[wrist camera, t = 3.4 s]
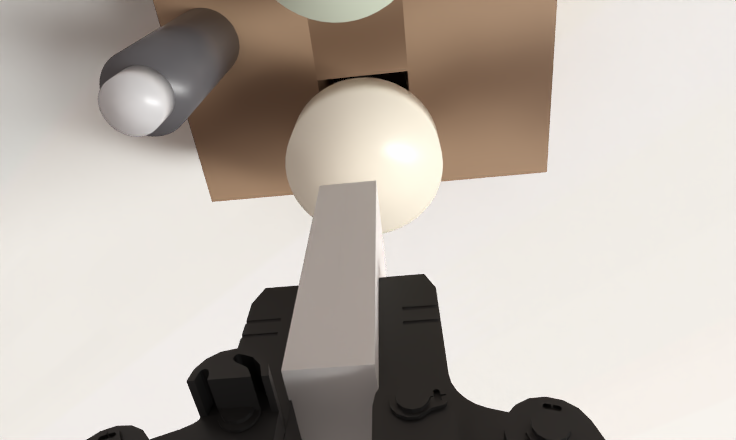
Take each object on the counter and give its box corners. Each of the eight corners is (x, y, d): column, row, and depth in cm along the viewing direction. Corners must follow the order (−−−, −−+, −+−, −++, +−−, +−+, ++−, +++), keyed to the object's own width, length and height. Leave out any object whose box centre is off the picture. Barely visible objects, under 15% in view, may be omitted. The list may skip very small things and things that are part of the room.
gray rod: (164, 11, 19) (66, 65, 13) (230, 4, 19) (161, 54, 13) (183, 78, 21) (101, 154, 15) (246, 71, 20) (188, 146, 14)
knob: (298, 49, 22) (271, 101, 16) (425, 36, 21) (439, 84, 16) (318, 164, 24) (300, 240, 19) (431, 154, 24) (445, 229, 18)
